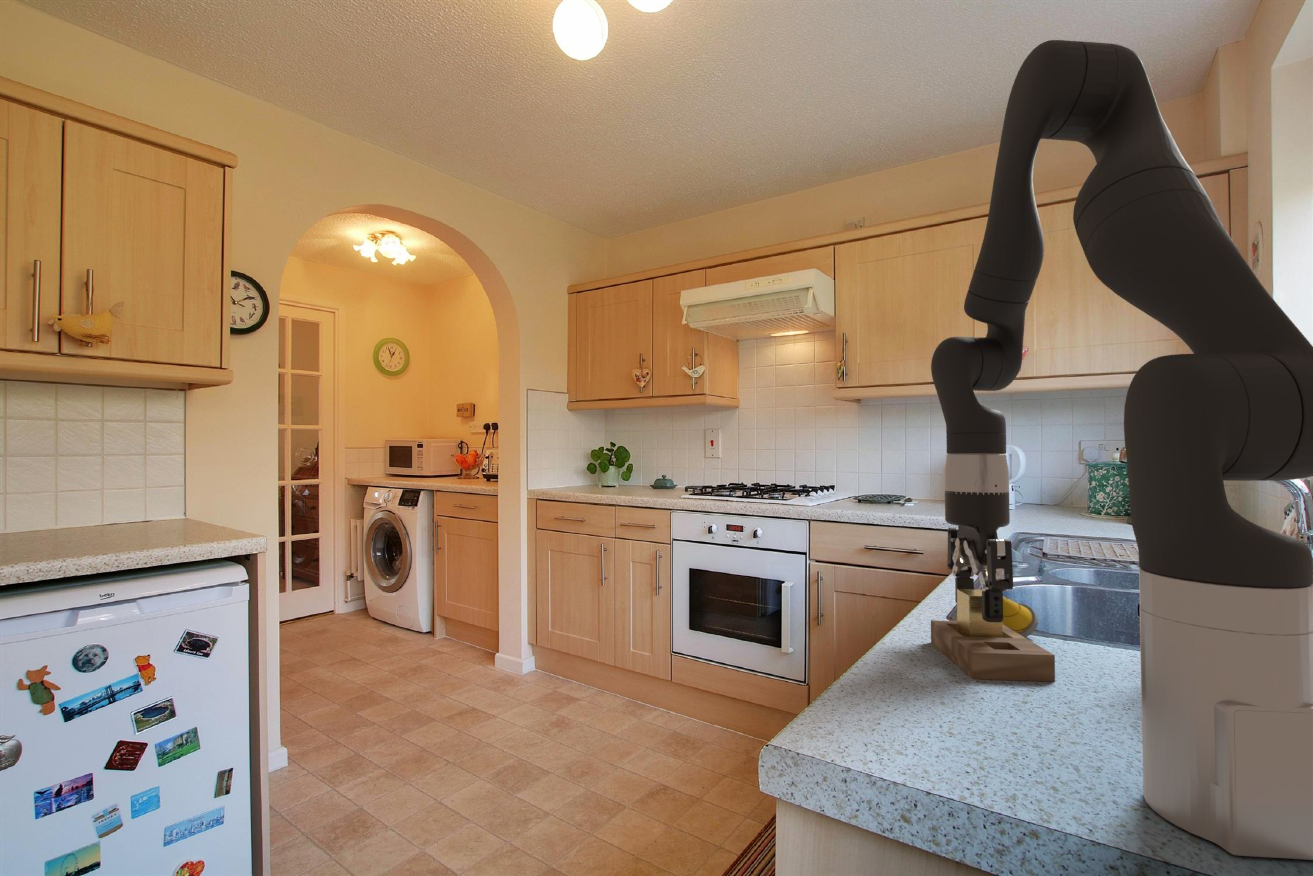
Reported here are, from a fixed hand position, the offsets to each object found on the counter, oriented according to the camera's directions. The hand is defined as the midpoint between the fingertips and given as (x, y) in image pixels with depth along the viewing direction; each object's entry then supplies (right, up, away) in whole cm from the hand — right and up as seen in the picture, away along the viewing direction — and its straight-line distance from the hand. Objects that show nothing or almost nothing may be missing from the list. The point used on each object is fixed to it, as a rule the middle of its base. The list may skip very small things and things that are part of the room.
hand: (977, 613), depth 80 cm
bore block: (0, -5, -3) cm, 6 cm away
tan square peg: (0, -5, 0) cm, 5 cm away
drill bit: (+9, -6, +7) cm, 12 cm away
